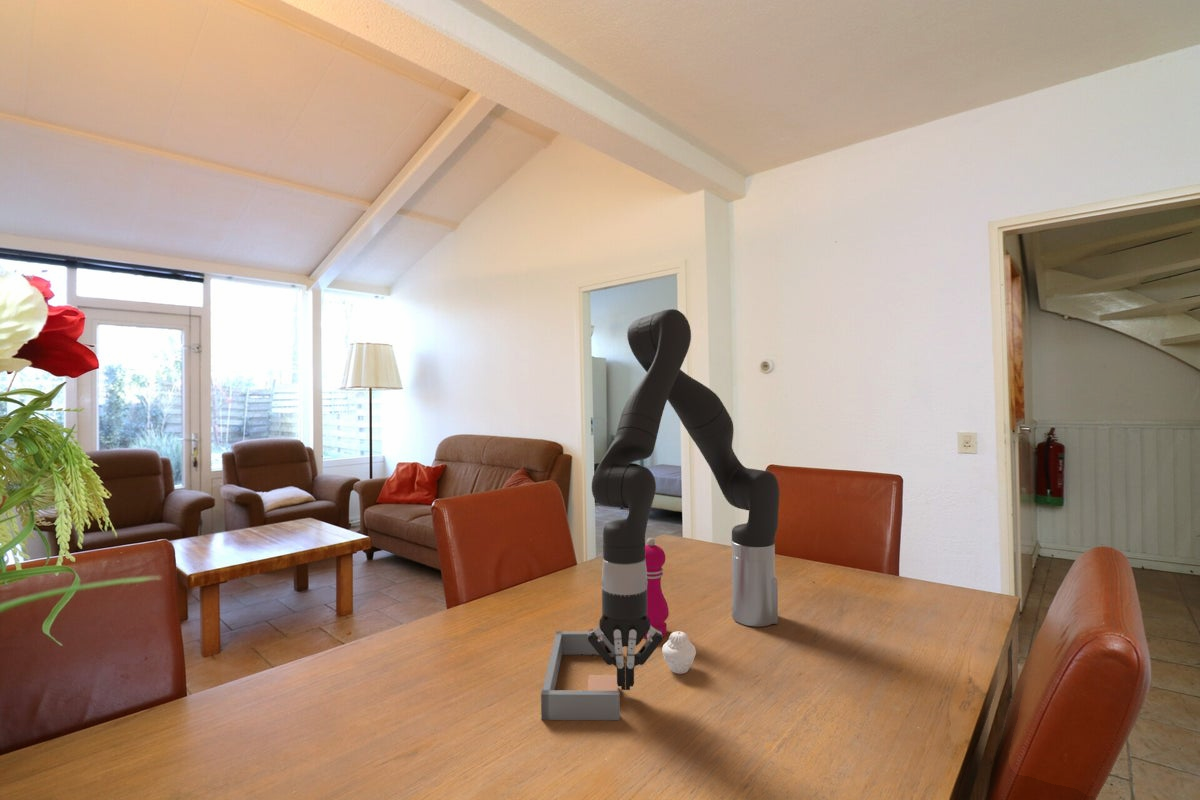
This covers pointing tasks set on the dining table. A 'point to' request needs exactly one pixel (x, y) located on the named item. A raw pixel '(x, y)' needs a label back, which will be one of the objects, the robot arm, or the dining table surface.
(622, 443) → the robot arm
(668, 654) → the white rounded ceramic piece
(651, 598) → the pepper mill
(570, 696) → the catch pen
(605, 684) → the block
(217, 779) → the dining table surface
